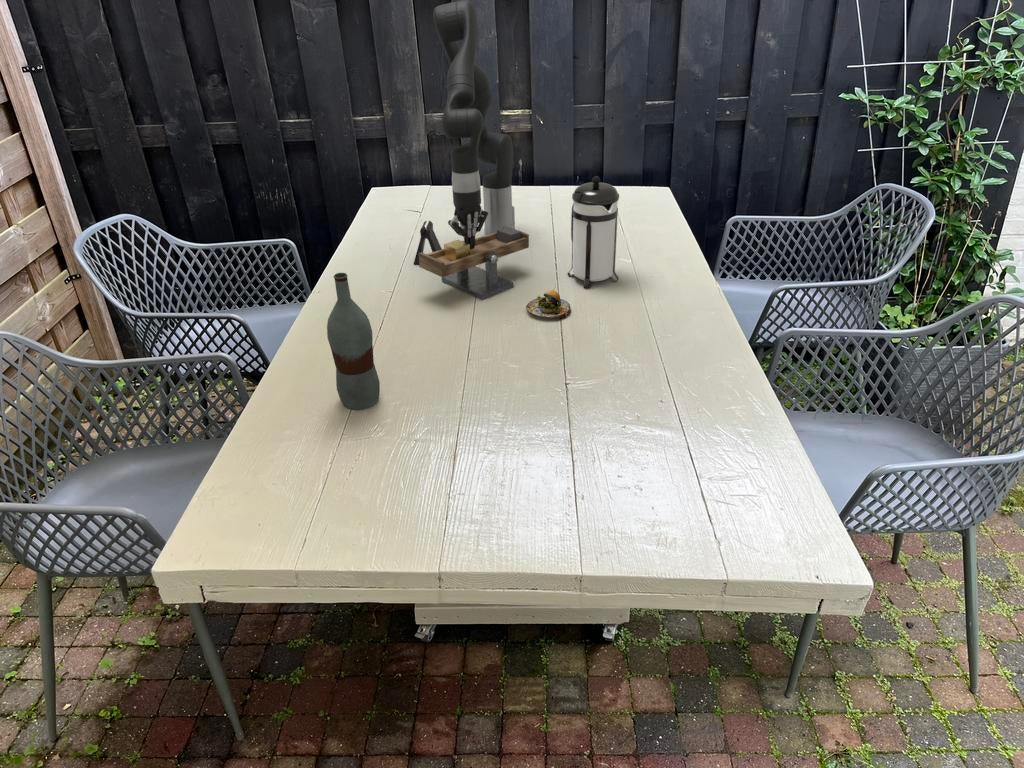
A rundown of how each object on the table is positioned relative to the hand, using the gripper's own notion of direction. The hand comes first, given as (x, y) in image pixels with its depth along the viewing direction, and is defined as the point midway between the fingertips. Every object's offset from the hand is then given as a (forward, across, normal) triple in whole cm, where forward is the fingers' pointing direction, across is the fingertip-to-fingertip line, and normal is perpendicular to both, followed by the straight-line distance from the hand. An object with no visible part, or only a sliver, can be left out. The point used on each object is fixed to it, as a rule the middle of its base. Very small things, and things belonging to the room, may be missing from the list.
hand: (470, 248), depth 207 cm
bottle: (+12, +56, +28) cm, 64 cm away
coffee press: (+12, -28, +20) cm, 36 cm away
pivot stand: (+12, -2, 0) cm, 12 cm away
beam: (+3, -2, 0) cm, 4 cm away
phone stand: (+12, -3, -24) cm, 27 cm away
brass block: (+2, +5, 0) cm, 5 cm away
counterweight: (+2, -15, 0) cm, 15 cm away
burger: (+12, -4, +27) cm, 30 cm away
